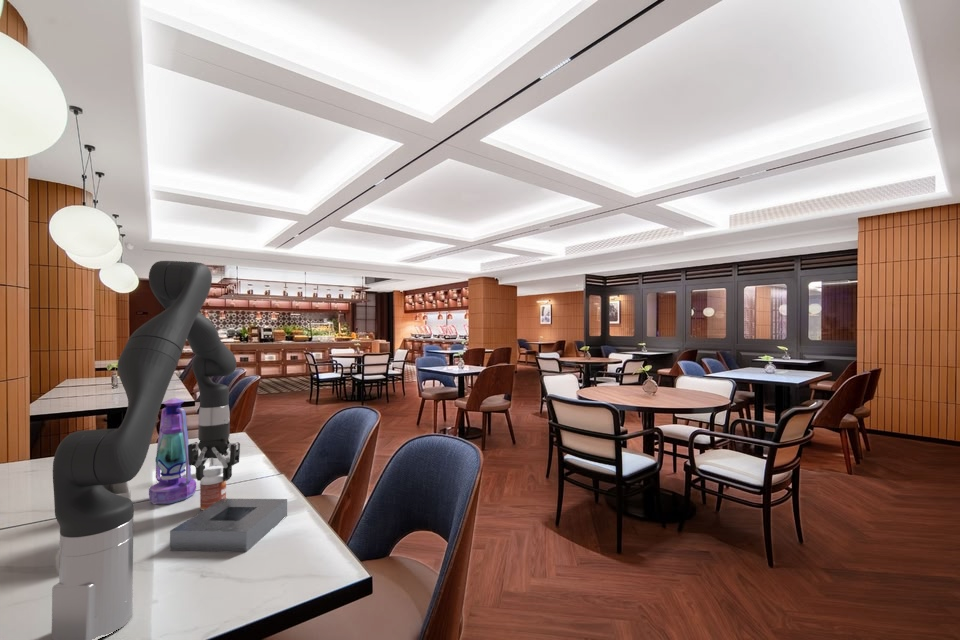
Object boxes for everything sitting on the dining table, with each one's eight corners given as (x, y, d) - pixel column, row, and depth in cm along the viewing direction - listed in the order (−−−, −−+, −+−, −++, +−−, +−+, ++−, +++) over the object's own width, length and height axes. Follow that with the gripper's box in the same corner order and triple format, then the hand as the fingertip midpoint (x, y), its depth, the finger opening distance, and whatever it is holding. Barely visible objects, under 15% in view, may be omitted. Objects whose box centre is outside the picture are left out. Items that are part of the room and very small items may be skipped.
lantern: (136, 503, 120) (137, 400, 121) (176, 488, 132) (176, 394, 132) (169, 508, 117) (170, 402, 117) (207, 493, 128) (208, 396, 128)
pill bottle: (226, 508, 116) (226, 468, 117) (200, 514, 113) (199, 473, 113) (225, 500, 122) (225, 463, 122) (200, 506, 118) (200, 467, 118)
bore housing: (246, 551, 93) (246, 531, 93) (169, 550, 94) (170, 530, 94) (287, 515, 111) (287, 499, 111) (222, 515, 112) (222, 498, 112)
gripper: (180, 424, 114) (179, 484, 114) (230, 424, 114) (229, 485, 113) (199, 418, 122) (199, 475, 122) (246, 418, 121) (246, 475, 121)
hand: (213, 479), depth 117 cm, fingers open, 7 cm apart
